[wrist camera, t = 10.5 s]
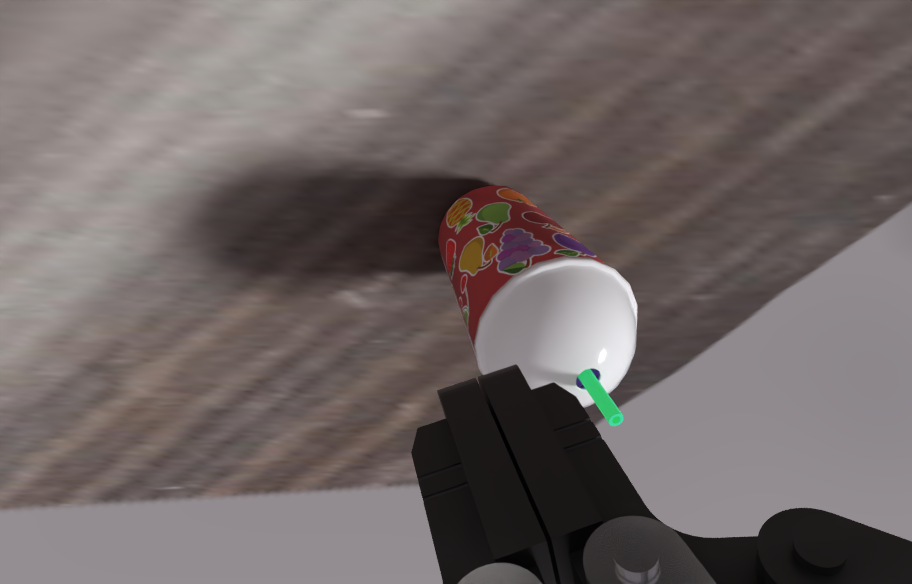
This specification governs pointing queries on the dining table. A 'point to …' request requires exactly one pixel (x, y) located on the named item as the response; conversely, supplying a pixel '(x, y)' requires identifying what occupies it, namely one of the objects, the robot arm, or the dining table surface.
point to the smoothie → (538, 297)
